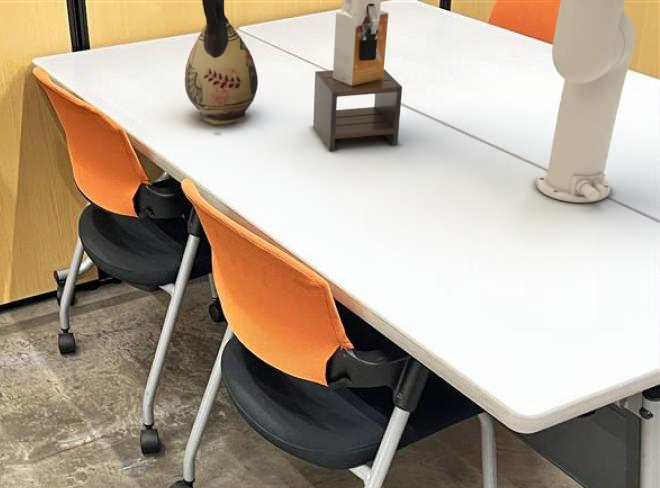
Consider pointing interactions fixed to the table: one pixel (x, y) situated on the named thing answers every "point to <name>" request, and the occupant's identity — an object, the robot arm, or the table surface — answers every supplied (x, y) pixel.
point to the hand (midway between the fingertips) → (359, 52)
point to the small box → (357, 51)
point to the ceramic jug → (220, 70)
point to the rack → (356, 109)
